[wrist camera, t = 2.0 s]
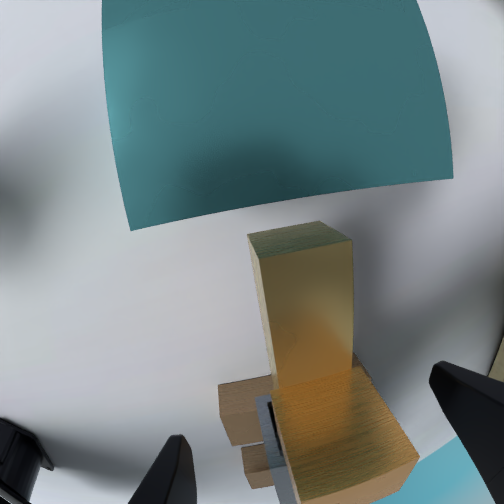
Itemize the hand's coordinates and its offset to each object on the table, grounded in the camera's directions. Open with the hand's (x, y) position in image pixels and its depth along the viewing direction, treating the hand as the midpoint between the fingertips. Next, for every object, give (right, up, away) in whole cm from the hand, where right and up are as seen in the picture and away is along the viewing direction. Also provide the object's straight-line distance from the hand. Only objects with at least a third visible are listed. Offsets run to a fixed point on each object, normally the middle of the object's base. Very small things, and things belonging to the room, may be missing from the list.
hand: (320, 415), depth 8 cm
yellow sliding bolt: (0, -3, +4) cm, 5 cm away
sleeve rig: (-1, +1, +6) cm, 6 cm away
